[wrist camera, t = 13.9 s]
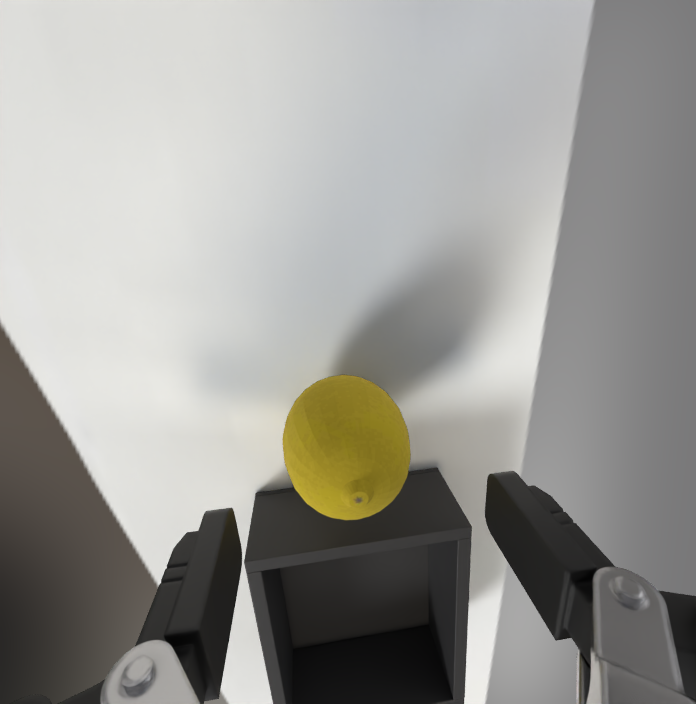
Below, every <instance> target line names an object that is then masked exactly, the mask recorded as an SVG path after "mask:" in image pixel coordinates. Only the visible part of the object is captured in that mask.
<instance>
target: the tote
mask: <svg viewBox="0 0 696 704" xmlns="http://www.w3.org/2000/svg"><path fill="white" fill-rule="evenodd" d="M471 531H472V526H471V525H470V523H469V521H468V520H467V518H466V516H465V514H464V513H463V511H462V509H461V508H460V506H459V504H458V502H457V501H456V499H455V497H454V496H453V494H452V492H451V490H450V489H449V487H448V485H447V484H446V482H445V480H444V478H443V477H442V475H441V473H440V472H439V470H438V468H433V469H426V470H418V471H411V472H408V475H407V478H406V480H405V482H404V484H403V487H402V489H401V490H400V492H399V494H398V495H397V496H396V497H395V499H394V500H393V501H392V502H391V503H390V504H389V505H387V506H386V507H385V508H384V509H382V510H381V511H379V512H377V513H375V514H373V515H371V516H369V517H365V518H362V519H358V520H342V519H336V518H331V517H328V516H326V515H323V514H321V513H319V512H318V511H316V510H315V509H314V508H312V507H311V506H309V505H308V504H307V503H306V502H305V501H304V500H303V498H302V497H301V496H300V494H299V493H298V492H297V491H296V489H295V488H289V489H282V490H275V491H267V492H260V493H256V494H255V501H254V507H253V513H252V519H251V525H250V531H249V537H248V543H247V549H246V555H245V560H244V563H245V568H246V573H247V578H248V583H249V587H250V592H251V597H252V602H253V607H254V612H255V617H256V622H257V627H258V631H259V636H260V641H261V646H262V651H263V656H264V661H265V666H266V671H267V675H268V680H269V685H270V690H271V695H272V700H273V704H464V697H465V673H466V649H467V626H468V602H469V578H470V554H471Z"/></svg>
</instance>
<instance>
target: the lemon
mask: <svg viewBox="0 0 696 704" xmlns="http://www.w3.org/2000/svg"><path fill="white" fill-rule="evenodd" d="M283 451H284V460H285V465H286V468H287V471H288V473H289V476H290V478H291V481H292V483H293V486H294V488H295V489H296V491H297V492H298V493H299V494H300V496H301V497H302V498H303V500H304V501H305V502H306V503H307V504H308V505H309V506H311V507H312V508H314V509H315V510H316V511H318V512H319V513H321V514H323V515H326V516H328V517H331V518H336V519H342V520H358V519H362V518H365V517H369V516H371V515H373V514H375V513H377V512H379V511H381V510H382V509H384V508H385V507H386V506H387V505H389V504H390V503H391V502H392V501H393V500H394V499H395V497H396V496H397V495H398V494H399V492H400V490H401V489H402V487H403V484H404V482H405V480H406V478H407V475H408V470H409V464H410V444H409V435H408V430H407V427H406V424H405V422H404V419H403V417H402V414H401V412H400V410H399V408H398V407H397V405H396V404H395V403H394V401H393V400H392V399H391V398H390V396H389V395H388V394H387V393H386V392H385V391H384V390H382V389H381V388H380V387H378V386H377V385H375V384H374V383H373V382H371V381H368V380H366V379H363V378H360V377H358V376H349V375H339V376H331V377H328V378H325V379H322V380H320V381H317V382H316V383H314V384H313V385H311V386H310V387H308V388H307V389H306V390H305V391H304V392H303V393H302V394H301V395H300V396H299V397H298V398H297V400H296V401H295V403H294V405H293V406H292V408H291V410H290V412H289V414H288V416H287V420H286V424H285V429H284V433H283Z"/></svg>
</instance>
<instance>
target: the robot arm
mask: <svg viewBox="0 0 696 704" xmlns="http://www.w3.org/2000/svg"><path fill="white" fill-rule="evenodd" d="M485 517H486V522H487V526H488V529H489V531H490V533H491V535H492V536H493V538H494V540H495V541H496V543H497V545H498V546H499V548H500V550H501V551H502V553H503V554H504V556H505V558H506V559H507V561H508V563H509V564H510V566H511V568H512V569H513V571H514V573H515V574H516V576H517V578H518V579H519V581H520V582H521V584H522V586H523V587H524V589H525V590H526V592H527V594H528V595H529V597H530V599H531V600H532V602H533V604H534V605H535V607H536V609H537V610H538V612H539V614H540V615H541V617H542V619H543V620H544V622H545V623H546V625H547V627H548V629H549V630H550V632H551V633H552V635H553V637H554V638H555V640H562V639H567V638H572V639H573V641H574V642H575V643H576V645H577V647H578V653H577V685H576V704H696V596H690V595H684V594H676V593H670V592H664V591H658V590H657V589H656V588H655V587H654V586H653V585H651V583H649V582H648V581H647V580H645V579H644V578H643V577H641V576H639V575H637V574H635V573H633V572H631V571H629V570H626V569H623V568H618V567H615V566H614V565H613V564H612V563H611V562H610V560H609V559H608V558H607V557H606V556H605V555H604V554H603V553H602V552H601V551H600V549H599V548H598V547H597V546H596V545H595V544H594V543H593V542H592V541H591V540H590V538H589V537H588V536H587V535H586V534H585V533H584V532H583V531H582V530H581V529H580V527H579V526H577V524H576V523H573V520H572V519H571V518H570V517H569V516H568V514H567V513H566V512H563V509H562V508H561V507H560V506H559V504H558V503H557V502H556V501H555V500H554V499H553V498H552V497H551V496H550V495H548V494H547V493H545V492H543V491H542V490H540V489H539V488H537V487H536V486H527V485H526V483H525V482H524V481H523V480H522V479H521V478H520V476H519V475H518V474H517V473H516V472H514V471H509V472H501V473H494V474H490V475H489V476H488V480H487V492H486V506H485ZM241 566H242V549H241V543H240V539H239V534H238V529H237V524H236V519H235V515H234V511H233V509H232V508H226V509H218V510H211V511H206V512H205V514H204V516H203V519H202V522H201V525H200V528H199V531H195V532H187V533H186V534H185V536H184V537H183V538H182V539H181V540H180V542H179V543H178V544H177V545H176V546H175V548H174V549H173V552H172V554H171V557H170V559H169V562H168V564H167V569H166V570H165V572H164V575H163V577H162V580H161V584H160V585H159V587H158V590H157V593H156V595H155V598H154V601H153V603H152V605H151V608H150V610H149V613H148V615H147V618H146V621H145V623H144V626H143V628H142V631H141V633H140V636H139V639H138V641H137V643H136V645H135V647H134V648H133V649H131V650H130V651H128V652H127V653H126V654H125V655H123V656H122V657H121V658H120V659H119V660H118V661H117V663H116V664H115V665H114V666H113V667H112V669H111V671H110V672H109V673H108V675H107V677H106V679H104V680H103V681H102V682H100V683H98V684H97V685H95V686H93V687H91V688H89V689H87V690H85V691H83V692H81V693H79V694H77V695H74V696H72V697H71V698H68V699H66V700H64V701H62V702H60V703H58V704H204V701H208V700H213V699H219V694H220V688H221V682H222V676H223V671H224V665H225V659H226V653H227V648H228V642H229V636H230V631H231V625H232V619H233V613H234V608H235V602H236V596H237V590H238V585H239V579H240V573H241ZM11 704H52V703H51V701H50V700H49V699H48V698H47V697H46V696H43V695H29V696H26V697H23V698H20V699H18V700H16V701H14V702H12V703H11Z"/></svg>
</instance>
